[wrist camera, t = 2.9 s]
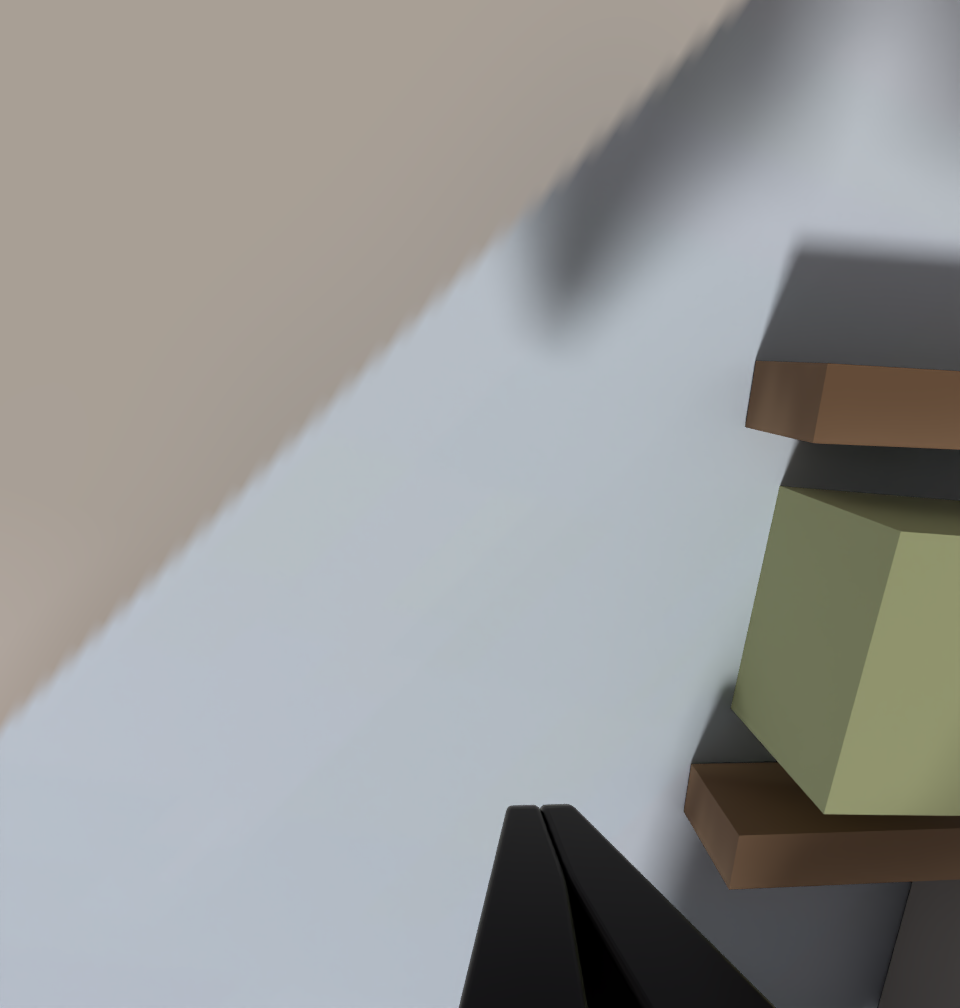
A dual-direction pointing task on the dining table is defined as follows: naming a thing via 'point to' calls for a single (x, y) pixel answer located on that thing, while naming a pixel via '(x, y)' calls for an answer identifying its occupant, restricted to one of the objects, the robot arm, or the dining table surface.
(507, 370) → the dining table surface
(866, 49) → the dining table surface
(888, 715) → the olive block
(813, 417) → the walled lane
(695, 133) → the dining table surface
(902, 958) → the trap pit
